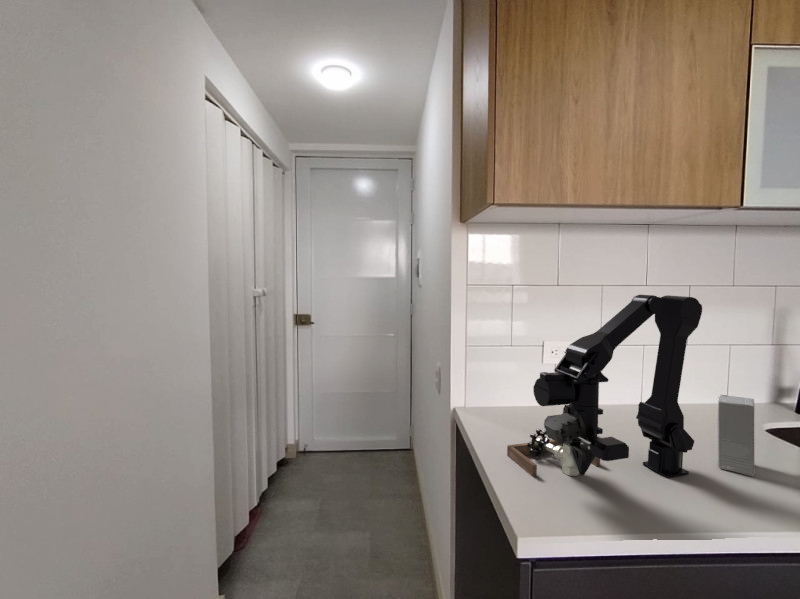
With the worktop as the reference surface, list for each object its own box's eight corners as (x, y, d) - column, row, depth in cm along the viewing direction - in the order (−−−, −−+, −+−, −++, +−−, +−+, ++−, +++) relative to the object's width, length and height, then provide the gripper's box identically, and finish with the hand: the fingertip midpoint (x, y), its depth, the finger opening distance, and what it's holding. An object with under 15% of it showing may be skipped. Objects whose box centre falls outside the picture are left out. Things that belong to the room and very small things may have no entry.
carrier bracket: (569, 446, 103) (569, 437, 102) (599, 465, 93) (600, 455, 92) (507, 455, 98) (507, 445, 98) (532, 476, 88) (532, 465, 87)
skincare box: (754, 478, 87) (759, 407, 86) (713, 467, 92) (717, 400, 91) (753, 464, 94) (758, 398, 92) (715, 454, 98) (719, 391, 97)
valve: (588, 472, 89) (546, 451, 100) (589, 444, 89) (546, 425, 99) (568, 480, 86) (526, 457, 97) (569, 450, 86) (527, 430, 96)
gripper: (524, 393, 91) (523, 460, 92) (584, 421, 73) (582, 503, 74) (565, 390, 94) (564, 454, 95) (632, 415, 77) (630, 494, 77)
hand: (582, 474), depth 85 cm, fingers closed
